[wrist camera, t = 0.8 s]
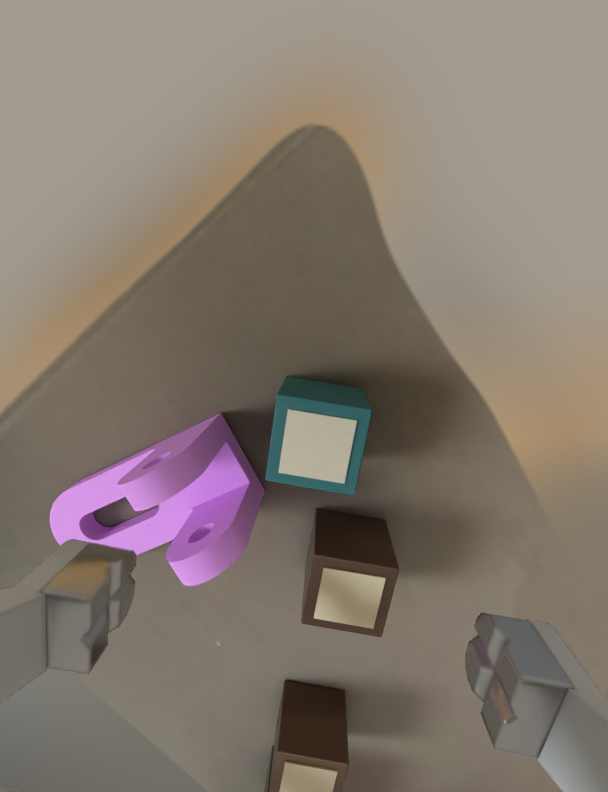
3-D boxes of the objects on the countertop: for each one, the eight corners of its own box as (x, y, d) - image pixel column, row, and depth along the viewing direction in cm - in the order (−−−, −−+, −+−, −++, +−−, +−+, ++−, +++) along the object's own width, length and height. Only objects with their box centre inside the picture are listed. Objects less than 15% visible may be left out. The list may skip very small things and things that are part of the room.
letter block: (286, 375, 21) (276, 394, 17) (363, 388, 21) (372, 410, 17) (276, 446, 22) (264, 482, 18) (348, 458, 22) (354, 497, 18)
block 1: (284, 679, 26) (276, 753, 22) (345, 690, 26) (349, 766, 22) (276, 724, 28) (267, 803, 23) (334, 734, 27) (336, 816, 23)
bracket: (221, 412, 22) (174, 461, 15) (264, 490, 23) (239, 568, 16) (48, 495, 24) (-61, 570, 17) (96, 563, 25) (10, 659, 18)
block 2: (316, 507, 23) (313, 555, 19) (386, 519, 23) (400, 570, 18) (305, 567, 24) (300, 625, 20) (371, 578, 24) (382, 639, 20)
